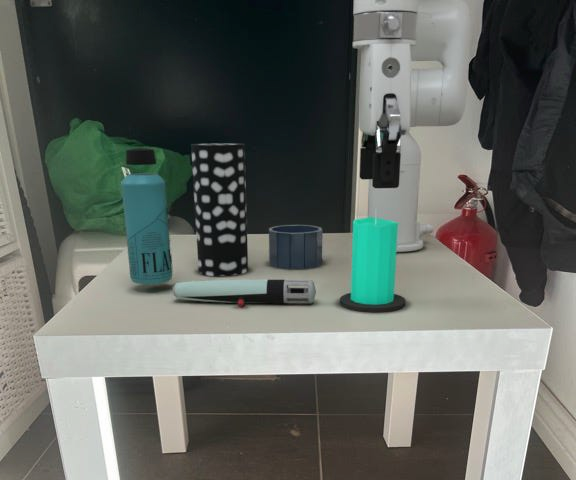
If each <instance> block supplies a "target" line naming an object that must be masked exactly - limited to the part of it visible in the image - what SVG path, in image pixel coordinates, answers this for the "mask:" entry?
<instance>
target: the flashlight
mask: <svg viewBox="0 0 576 480" xmlns="http://www.w3.org/2000/svg"><path fill="white" fill-rule="evenodd" d="M289 286H299V287H289ZM301 286H302V287H301ZM303 286H306V287H303ZM172 294H173V296H174V297H175V298H176V299H177V300H183V301H195V302H208V303H209V302H210V303H227V304H237V306H238V307H239V308H242V307H244V305H245V304H280V305H281V304H284V305H285V304H313V303H314V301H315V297H316V295H317V290H316V285H315V282H314V281H313V280H312V279H307V280H303V279H301V280H300V279H299V280H298V279H297V280H296V279H295V280H293V279H290V280H289V279H210V280H209V279H208V280H207V279H206V280H203V279H202V280H189V281H180V282H175V284H174V285H173V287H172Z"/></svg>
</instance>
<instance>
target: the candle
mask: <svg viewBox="0 0 576 480" xmlns="http://www.w3.org/2000/svg"><path fill="white" fill-rule="evenodd" d="M376 215H377V209H376V213H375V218H374V217H368V216H367V217H364V218H355V219H353V221H352V243H351V244H352V246H351V274H350V275H351V276H350V277H351V279H350V293H351V300H353V301H354V302H357V303H362V304H373V305H378V304H387V303H390V302H393V300H394V294H395V285H396V284H395V283H396V282H395V281H396V265H397V252H396V250H397V233H398V222H394V221H389V220H384V219H379V218H376Z"/></svg>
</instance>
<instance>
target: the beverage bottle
mask: <svg viewBox="0 0 576 480" xmlns="http://www.w3.org/2000/svg"><path fill="white" fill-rule="evenodd" d="M125 164H126V165H127V166H149V165H150V166H151V165H156V164H157V158H156V154H155V149H153V148H147V147H135V148H130V149H129V148H128V149H126V150H125ZM120 187H121V195H122V207H123V212H124V213H123V214H124V215H123V216H124V222H125V223H124V224H125V233H126V247H127V255H128V256H127V258H128V265H129V267H128V268H129V276H130V277H129V278H130V280H131V282H132V283H134V284H137V285H157V284H164V283H167V282H170V281H172V279H173V275H174V269H173V254H172V252H171V239H170V232H171V230H170V227H169V223H170V222H169V211H168V210H169V207H168V202H167V201H168V198H167V194H166V181H165V180H164V178H162V176H161V175H159V174H158V173H153V172H141V173H140V172H139V173H129V174H126V176H124V178H123V179H122V180H121V182H120Z"/></svg>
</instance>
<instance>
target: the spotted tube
mask: <svg viewBox="0 0 576 480" xmlns="http://www.w3.org/2000/svg"><path fill="white" fill-rule="evenodd" d="M245 146H246V145H245V143H237V142H233V143H232V142H231V143H230V142H228V143H227V142H221V143H220V142H219V143H218V142H216V143H215V142H213V143H210V142H209V143H191V144H190V148H191V166H192V168H191V169H192V183H193V197H194V199H193V200H194V217H195V231H196V232H195V235H196V251H197V267H198V269H197V270H198V273H199V274H201V275H204V276H209V277H232V276H233V277H234V276H239V275H244V274H246V273H248V272H249V252H248V251H249V250H248V217H247V216H248V215H247V214H248V213H247V183H246V182H247V181H246V151H245V149H246V147H245Z"/></svg>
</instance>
